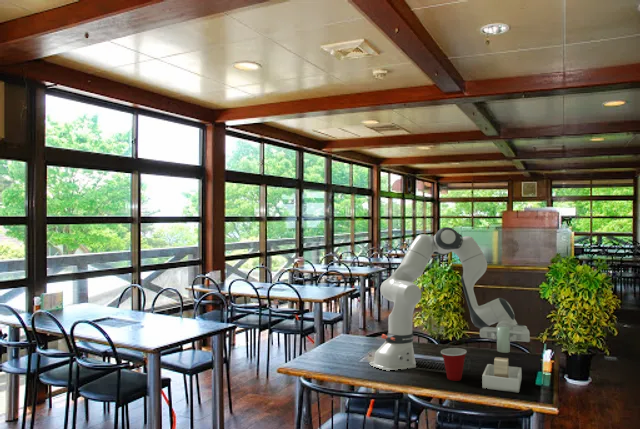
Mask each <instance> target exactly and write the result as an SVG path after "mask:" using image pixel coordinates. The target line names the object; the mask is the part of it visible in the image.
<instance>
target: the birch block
mask: <svg viewBox="0 0 640 429" xmlns="http://www.w3.org/2000/svg"><path fill="white" fill-rule="evenodd" d="M493 365H494V376H496V377H504V378H509V366H510V365H509V358H508V357H499V356H498V357H497V356H496V357H494V361H493Z"/></svg>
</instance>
